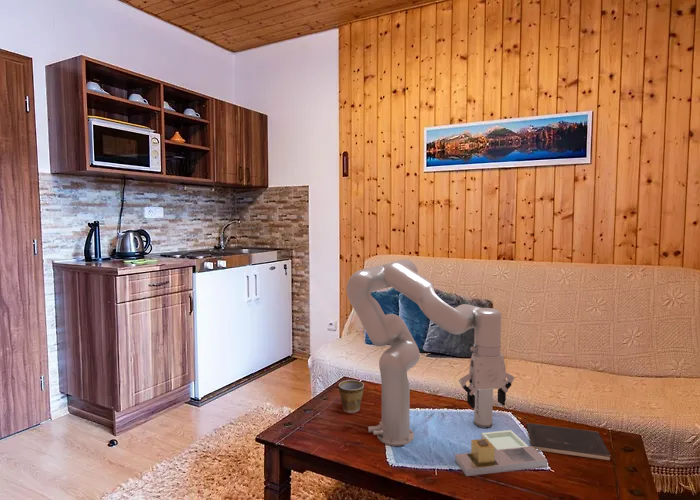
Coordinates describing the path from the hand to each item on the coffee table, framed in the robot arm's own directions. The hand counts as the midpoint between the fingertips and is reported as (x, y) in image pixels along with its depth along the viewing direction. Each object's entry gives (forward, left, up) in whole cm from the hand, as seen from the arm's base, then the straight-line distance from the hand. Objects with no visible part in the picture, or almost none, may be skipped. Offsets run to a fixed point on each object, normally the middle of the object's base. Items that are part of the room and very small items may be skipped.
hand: (486, 404), depth 130 cm
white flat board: (+4, -1, -19) cm, 20 cm away
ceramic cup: (-34, +46, -19) cm, 60 cm away
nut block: (-2, -1, -19) cm, 19 cm away
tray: (+11, +9, -19) cm, 24 cm away
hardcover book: (+32, +7, -20) cm, 39 cm away
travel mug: (+11, +24, -19) cm, 33 cm away
